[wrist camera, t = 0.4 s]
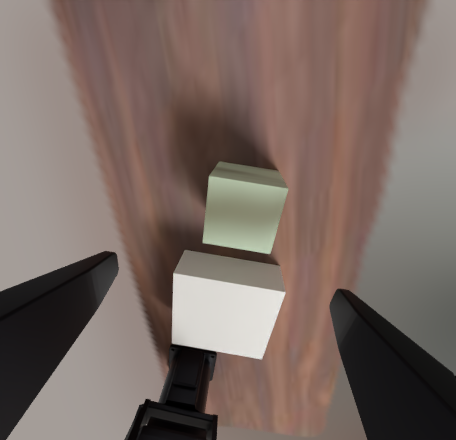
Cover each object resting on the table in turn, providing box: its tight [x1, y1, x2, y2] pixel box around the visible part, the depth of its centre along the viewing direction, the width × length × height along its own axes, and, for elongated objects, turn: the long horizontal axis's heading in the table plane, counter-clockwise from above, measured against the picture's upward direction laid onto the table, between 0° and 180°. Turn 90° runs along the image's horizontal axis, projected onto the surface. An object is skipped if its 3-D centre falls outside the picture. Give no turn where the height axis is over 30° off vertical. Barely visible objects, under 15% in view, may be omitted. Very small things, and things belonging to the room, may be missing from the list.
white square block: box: [172, 250, 286, 359], centre depth 22 cm, size 10×10×4 cm
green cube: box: [203, 161, 288, 254], centre depth 16 cm, size 5×5×5 cm
